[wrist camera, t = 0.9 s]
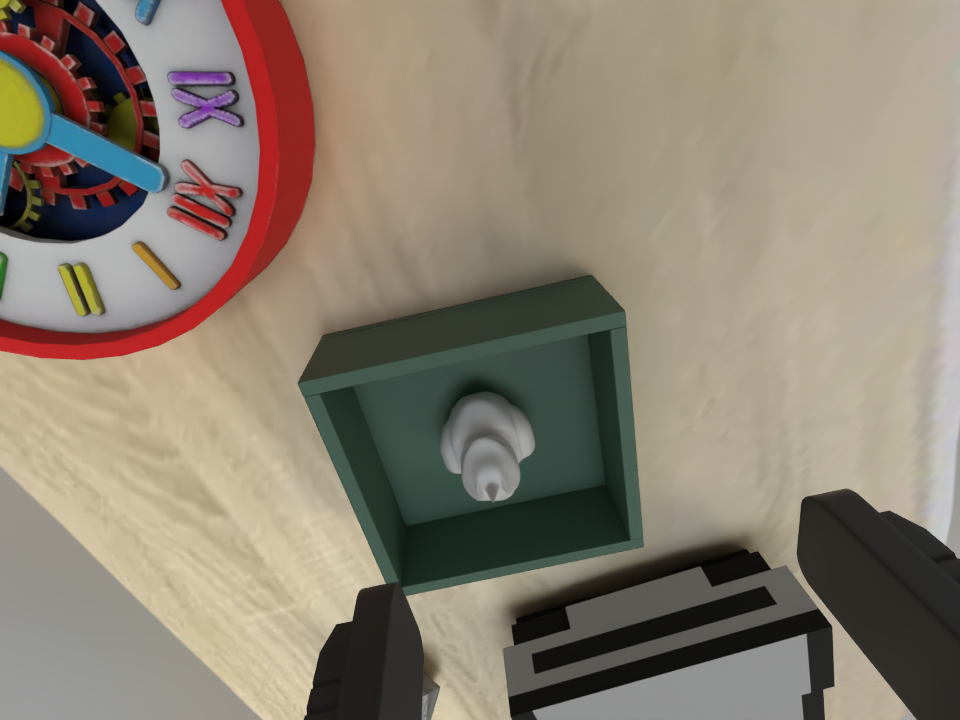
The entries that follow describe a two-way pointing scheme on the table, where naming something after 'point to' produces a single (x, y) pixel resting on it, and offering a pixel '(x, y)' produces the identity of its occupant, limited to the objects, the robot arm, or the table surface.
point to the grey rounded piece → (486, 445)
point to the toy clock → (143, 166)
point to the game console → (677, 650)
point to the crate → (426, 408)
